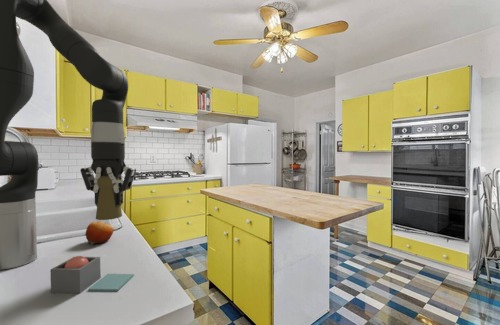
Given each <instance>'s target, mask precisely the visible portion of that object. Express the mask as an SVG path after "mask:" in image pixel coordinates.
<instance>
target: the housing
mask: <svg viewBox="0 0 500 325" xmlns="http://www.w3.org/2000/svg"><path fill="white" fill-rule="evenodd" d="M84 257H85V258H87V259H88V261H89V263H87V264H86V265H84V266H82V267H81V268H64V266H65V264H66V263H67V261H68V260H70V259H71V258H69V259H68V260H65V261H64V262H62V263H60V264H58V265H56V266H54V267H52V268H51V269H50V293H51V294H82V292H84V291H85V290H87V289H89V288H90V287H91V286H93V285H94V284H95V283H96V282H98V281H99V280H100V279H102V277H101V256H84Z"/></svg>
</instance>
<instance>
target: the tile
mask: <svg viewBox="0 0 500 325" xmlns="http://www.w3.org/2000/svg"><path fill="white" fill-rule="evenodd" d="M134 276H135V274H134V273H107V274H105V275H104V276H102V277H101V278H99V279H98V280H97V281H95V282H94V283H93V284H92V285H90V286H89V287H88V288H87V290H88V291H89V292H91V291H93V292H119V291H120V290H121V289H122V288H123V287H124V286H125V285H126V284H127V283H128V282H129V281H130V280H131V279H132V278H133V277H134Z"/></svg>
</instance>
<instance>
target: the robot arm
mask: <svg viewBox="0 0 500 325" xmlns="http://www.w3.org/2000/svg"><path fill="white" fill-rule="evenodd" d="M17 18H18V19H20V20H24V21H26V22H28V23H29V24H30V25H32V26H34V27H36V28H37V29H38V30H40V31H41V32H43V33H44V34H45V35H46V37H48V40H49V42H50V43H51V45H52V46H53V48H54V49H55V50H56V51H57V52H58V53H59V54H60V55H61V56H63V58H65V60H67V61H68V62H69V63H70V64H71V65H73V66H74V68H75V69H76V71H77V72H78V74H79V75H80V76H81V77H82V79H83V80H85V81H86V82H87V83H89V85H91V86H92V87H94V88H97V89H98V90H100V91H102V96H101V98H100V99H96V100H94V101H93V102H92V104H91V128H90V156H91V157H90V158H91V159H92V163H91V165H90V166H88V167H82V168H80V174H81V176H82V179H83V183H84V185H85V188H86V190H87V191H92V192H93V193H94V204H95V206H96V207H97V205H98V197H99V190H100V188H99V187H98V185H97V180H98V178H100V177H101V176H109V178H111V180H112V179H113V180H112V184H114V187H113V188H114V191H115V193H114V200H115V206H116V207H120V206H121V207H122V205H123V204H124V192H125V191H127V190H131V187H132V184H133V182H134V178H135V176H136V173H137V169H136V168H135V167H129V166H127V164H126V163H125V158H126V157H125V156H126V152H125V150H126V144H125V141H126V140H125V139H126V136H125V135H126V134H125V127H124V108H125V104H126V100H127V97H128V92H129V80H128V77H127V74H126V73H125V72H124V71H123V70H122V69H120V68H118V67H116V66H115V65H113V64H112V63H111V62H109V61H107V60H106V59H105V58H103V56H101V55H100V54H99V52H98V50H97V49H96V48H95V47H94V45H92V44H91V43H90V42H89V41H88V40H86V38H84V37H83V36H82V35H81V34H80V33H79V32H77V31H76V29H74V28H72V26H70V25H69V24H68V22H66V21H65V20H64V19H63V18H62V17H61V16H60V15H59V14H58V13H57V11H56V10H55V9H54V8H53V6H52V4H50V2H49V1H48V0H0V176H1V177H2V176H3V177H4V176H11V179H10V180H9V181H8V182H6V183H5V184H3V185H1V186H0V271H1V270H9V269H14V268H18V267H21V266H24V265H27V264H29V263H32V262H33V261H35V260H37V258H38V247H37V245H38V242H37V240H38V239H37V208H36V191H37V190H38V183H39V182H38V180H39V177H38V176H39V155H38V151H37V148H36V147H35V145H34V144H33V143H31V142H28V141H13V140H5V139H6V132H7V129H8V126H9V124H10V123H11V121H12V120H13V118H15V116H16V115H17V114H18V112H20V111H21V110H22V109H23V108H24V107H25V106H26V105H27V103H28V102H30V100H31V98H32V97H33V95H34V94H33V93H34V85H35V84H34V83H35V82H34V80H35V71H34V70H35V69H34V67H33V64H32V62H31V59H30V56H29V55H28V53H27V51H26V49H25V47H24V46H23V43H22V41H21V39H20V37H19V34H18V29H17V27H18V26H17ZM123 174H124V177H123V176H122V175H123ZM116 178H120V180H116ZM118 183H119V185H118Z"/></svg>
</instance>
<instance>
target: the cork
mask: <svg viewBox="0 0 500 325" xmlns="http://www.w3.org/2000/svg"><path fill="white" fill-rule="evenodd" d="M112 180H113V179H112ZM112 180H111V178H109V176H101V177H100V178H98V180H97V185H98V187H99V188H100V190H99V197H98V205H97V206H96V214H95V220H98V221H108V220H114V219H119V218H121V217H123V212H122V205H121V206H120V207H116V206H115V200H114V193H115V191H114V188H113V187H114V184H112ZM116 180H120V178H116ZM118 185H119V183H118Z"/></svg>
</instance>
